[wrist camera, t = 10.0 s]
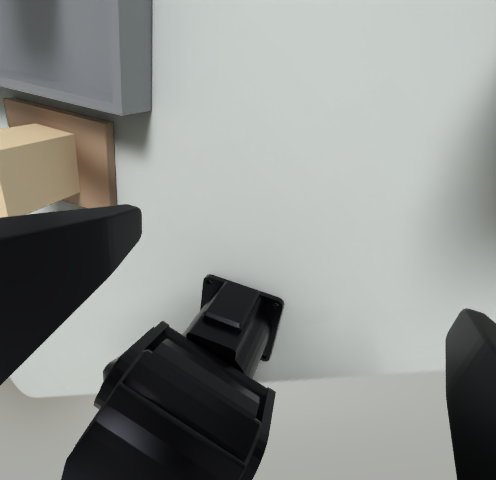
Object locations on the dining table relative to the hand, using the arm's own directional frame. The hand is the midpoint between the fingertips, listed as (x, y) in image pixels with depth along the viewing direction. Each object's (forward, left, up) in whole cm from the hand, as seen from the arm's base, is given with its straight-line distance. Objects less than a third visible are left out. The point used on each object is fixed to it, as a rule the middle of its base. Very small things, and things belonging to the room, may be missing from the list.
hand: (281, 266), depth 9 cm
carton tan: (-4, +20, -12) cm, 24 cm away
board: (-4, +20, -12) cm, 24 cm away
